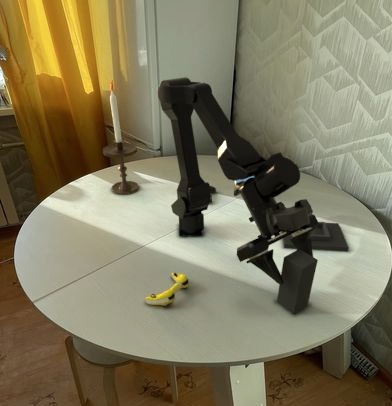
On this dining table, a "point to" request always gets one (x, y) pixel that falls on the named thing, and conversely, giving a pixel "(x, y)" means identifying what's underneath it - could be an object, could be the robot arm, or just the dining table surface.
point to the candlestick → (120, 152)
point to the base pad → (324, 238)
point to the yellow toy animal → (169, 291)
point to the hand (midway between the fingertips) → (297, 274)
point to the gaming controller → (212, 191)
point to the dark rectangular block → (296, 280)
